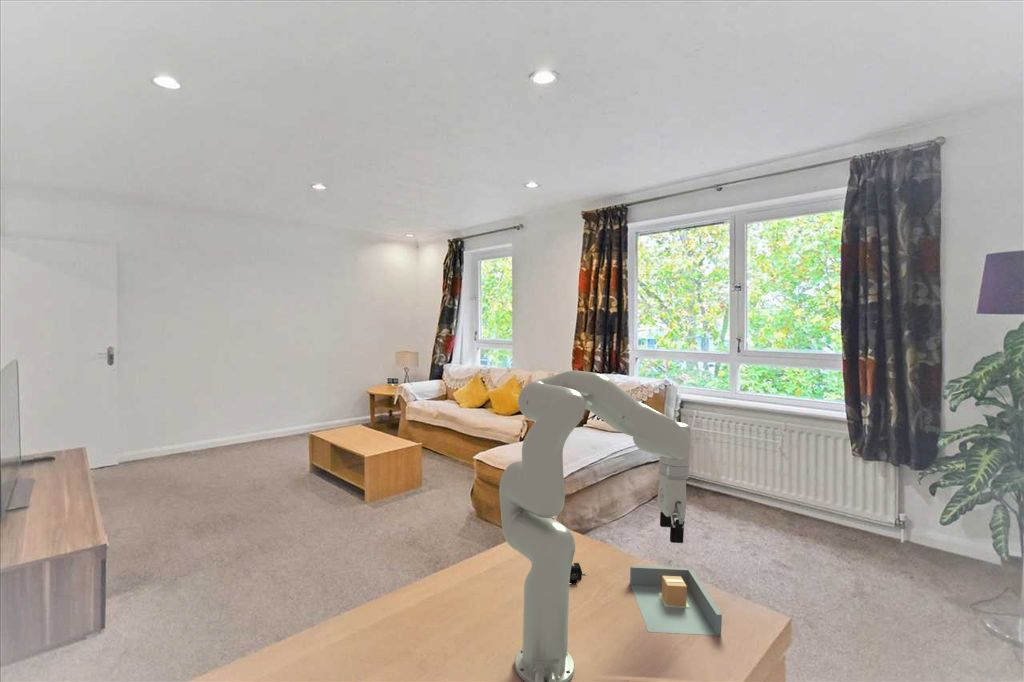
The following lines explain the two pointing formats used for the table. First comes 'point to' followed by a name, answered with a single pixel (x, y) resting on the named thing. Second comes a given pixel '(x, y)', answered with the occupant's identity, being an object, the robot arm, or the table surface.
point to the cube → (674, 590)
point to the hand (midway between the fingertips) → (671, 534)
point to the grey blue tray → (676, 619)
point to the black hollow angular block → (575, 573)
